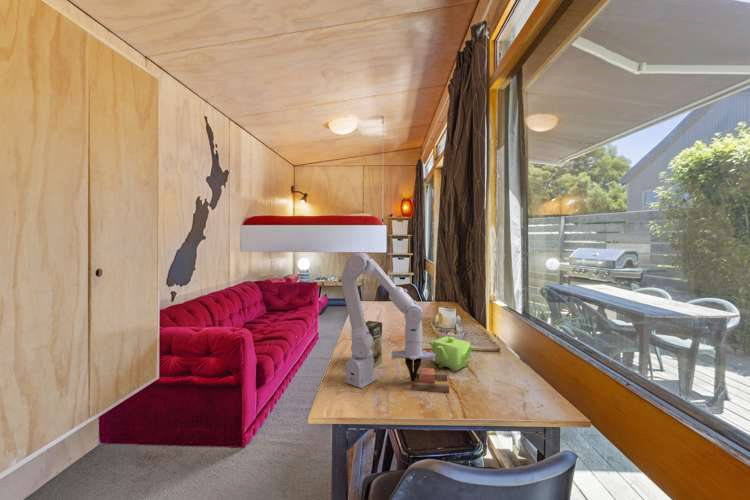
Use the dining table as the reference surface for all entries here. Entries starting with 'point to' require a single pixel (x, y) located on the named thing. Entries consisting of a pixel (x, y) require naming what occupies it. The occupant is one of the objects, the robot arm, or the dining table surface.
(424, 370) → the block
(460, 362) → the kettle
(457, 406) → the dining table surface
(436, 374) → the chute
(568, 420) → the dining table surface
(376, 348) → the coffee box
